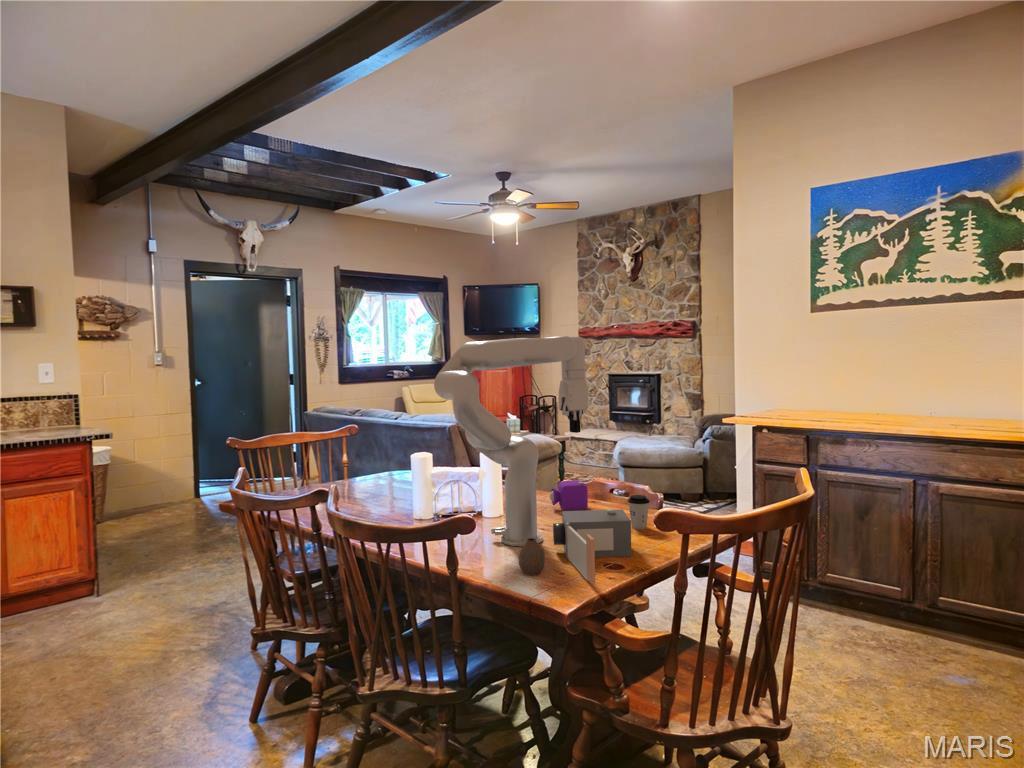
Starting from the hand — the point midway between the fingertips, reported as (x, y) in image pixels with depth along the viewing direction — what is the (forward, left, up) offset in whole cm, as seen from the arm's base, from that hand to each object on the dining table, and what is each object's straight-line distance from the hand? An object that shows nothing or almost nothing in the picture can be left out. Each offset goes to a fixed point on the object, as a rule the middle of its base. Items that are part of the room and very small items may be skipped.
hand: (575, 432), depth 196 cm
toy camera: (0, +24, -31) cm, 39 cm away
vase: (-16, -39, -31) cm, 53 cm away
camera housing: (+1, -23, -31) cm, 39 cm away
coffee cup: (+20, -2, -31) cm, 37 cm away
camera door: (-4, -40, -31) cm, 51 cm away
